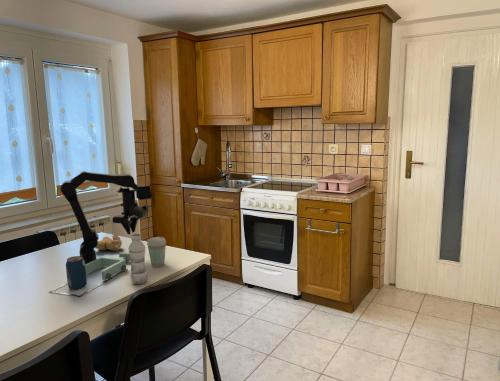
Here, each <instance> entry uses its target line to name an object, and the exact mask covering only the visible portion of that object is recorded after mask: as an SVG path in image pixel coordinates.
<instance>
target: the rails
mask: <svg viewBox="0 0 500 381" xmlns="http://www.w3.org/2000/svg"><path fill="white" fill-rule="evenodd" d="M126 271H128V268H126V270H122V271H120V272H118V273H117V274H115V275H113V276H111V278H110V279H106V280H103V282H100V283H98V284H97V285H96V286H93V287H92V288H91V289H89V290H87V291H85V292H83V293H82V294H80V295H79V294H73V293H67V292H59V291H57V290H59V289H61V288H63V287H65V286H66V285H67V286H68V283H67V282H66V283H64V284H62V285H60V286H57V287H56V288H53V289H52V290H50V291H49V293H52V294H58V295H62V296H70V297H75V298H81V297H83V296H84V295H86V294H88V293H91V291H93V290H95V289H96V288H98V287H100V286H102V285H104V284H106V283H107V282H109V281H111V280H113V279H114V278H116V277H117V276H119V275H121V274H123V273H124V272H126Z"/></svg>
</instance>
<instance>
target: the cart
mask: <svg viewBox="0 0 500 381" xmlns="http://www.w3.org/2000/svg"><path fill="white" fill-rule="evenodd" d="M118 255H119V256H118V258H113V257H107V256H100V257H98V258H96V260H94V261H92V262H89V263H87V264H85V268H86V276H87V275H89V274H90V273H92V272H95V271H96V270H98V269H100V268H102V267H105V268H104V269H102V270H101V271H100V272H101V281H106V280H107V279H110V278H111V277H113V276H114V275H116V274H118V273H120V272H121V271H123V270H126V269H127V265H126V262H127V263H128V262H131V259H130V254H129V252H123V251H121V252H119V253H118ZM126 271H127V270H126Z"/></svg>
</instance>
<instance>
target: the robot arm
mask: <svg viewBox="0 0 500 381" xmlns="http://www.w3.org/2000/svg"><path fill="white" fill-rule="evenodd" d="M86 181H87V182H96V183H104V184H105V183H106V184H113V185H116V186H119V187H120V188H118V189H117V193H119V194H121V196H122V197H121V198H122V200H121V201H122V203H120V206H121V207H122V210H123V211H122V212H121V214H118V215H115V216H112V219H111V220H112V224H121V226H122V227H123V228H124V230H125V232H126V234H127V235H130V234H131V232H132V233H135V232H136V228H137V225H138V221H140V219H143V218H146V216H147V214H148V213H149V206H148V205H142V206H139V204H138V202H136V199H138V200H139V201H145V200H152V197H153V196H152V195H153V194H152V191H151V190H152V189H151V185H149V184H147V185H139V186H138V183H136V182H135V179H134V177H133V176H132V175H131V174H129V173H120V174H109V173H100V172H93V171H92V172H91V171H85V170H84V171H81V172H80V173H79V174H77V175H76V176H75V177H73V178H72V179H70V180H66V181H63V182H62V184H61V186H60V192H61V193H62V195H63V196H64V198H65V199H66V200H67V201H68V203H69V205H70V207H71V210H72V211H73V214H74V216H75V219H76V220H77V223H78V226H79V227H80V230H81V234H82V239H83V241H82V243H80V245H79V256H82V257H83V259H84V261H85V264H87V263H89V262H92V261H94V260H96V259H97V254H96V250H95V249H96V248H95V247H96V246H97V244H98V241H100V240H99V239H100V238H99V237H100V236H99V235H98V233H97V230H96V228H92V227H91V226H90V223H89V221H88V219H87V217H86V214H85V211H84V210H83V208H82V207H83V206H82V204H81V202H80V200H79V195H78V191H77V188H78V187H80V186H81V185H82V184H84V183H85V182H86Z"/></svg>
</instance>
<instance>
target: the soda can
mask: <svg viewBox="0 0 500 381" xmlns="http://www.w3.org/2000/svg"><path fill="white" fill-rule="evenodd" d="M65 270H66V281H67V282H66V283H68V284H67V287H68V289H70V291H80V290H83V289H84V288H86V285H87V284H88V279H87V275H86V268H85V261H84V259H83V257H82V256H80V255H76V256H70V257H68V258H67V259H66V262H65Z"/></svg>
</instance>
